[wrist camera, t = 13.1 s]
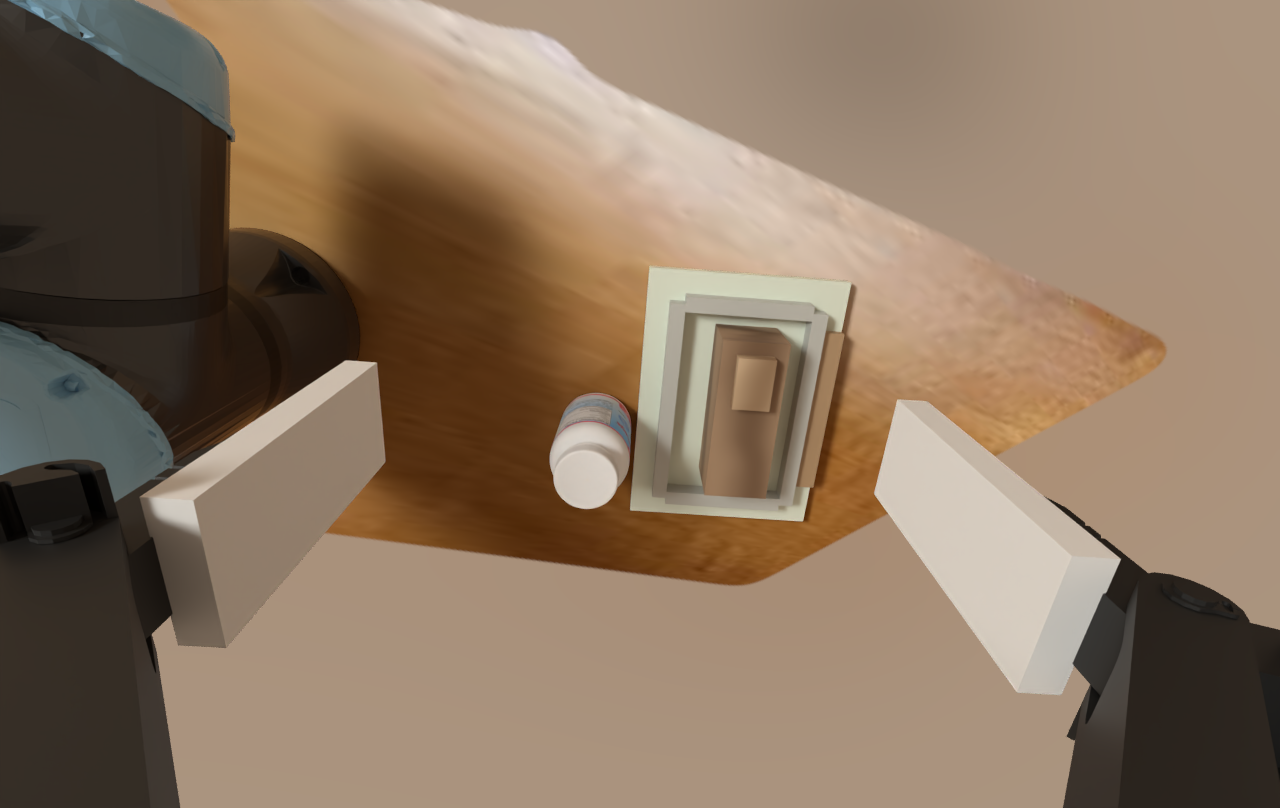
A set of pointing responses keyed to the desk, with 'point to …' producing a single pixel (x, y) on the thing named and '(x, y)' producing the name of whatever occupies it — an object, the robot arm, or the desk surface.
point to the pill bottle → (591, 450)
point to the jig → (681, 376)
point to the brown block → (742, 410)
